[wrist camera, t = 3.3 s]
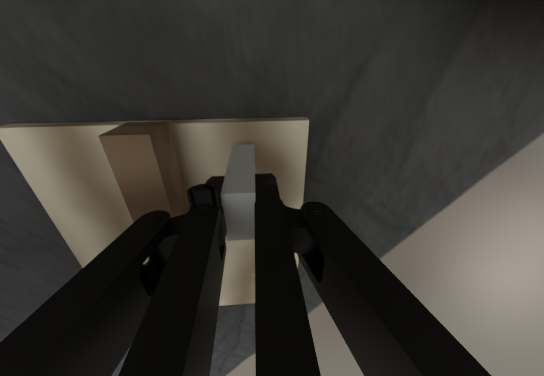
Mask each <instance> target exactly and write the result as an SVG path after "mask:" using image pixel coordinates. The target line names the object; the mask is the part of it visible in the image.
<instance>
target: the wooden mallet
mask: <svg viewBox="0 0 544 376" xmlns="http://www.w3.org/2000/svg"><path fill="white" fill-rule="evenodd" d="M98 137H99V139H100V142H101V144H102V147H103V149H104V152H105V154H106V156H107V159H108V161H109V164H110V166H111V169H112V171H113V174H114V176H115V178H116V181H117V183H118V186H119V188H120V191H121V193H122V196H123V198H124V200H125V203H126V205H127V208H128V210H129V213H130V215H131V218H132V220H133V222H135V221H136V220H137V219H138V218H140V217H141V216H142V215H144V214H146V213H149V212H151V211H156V210H164V211H167V212H169V213H170V215H171V217H175V216H179V215H183V214H186V213H188V211H189V207H188V203H187V198H186V194H185V190H184V186H183V182H182V178H181V173H180V169H179V165H178V161H177V157H176V153H175V148H174V144H173V140H172V136H171V132H170V127H169V123H168V121H162V122H126V123H124V124H122V125H120V126H118V127H116V128H114V129H112V130H109V131H107V132H105V133H103V134H101V135H99V136H98ZM148 259H149V258H148Z"/></svg>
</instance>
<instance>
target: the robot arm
mask: <svg viewBox="0 0 544 376" xmlns="http://www.w3.org/2000/svg"><path fill="white" fill-rule="evenodd" d="M186 193H187V198H188V202H189V206H190V208H189V211H188V213H186V214H183V215H179V216H175V217H171V215H170V213H169V212H167V211H164V210H156V211H151V212H149V213H146V214H144V215H142V216H141V217H140V218H138V219H137V220H136V221H135V222H134V223H133V224H132V225H130V226H129V227H128V228H127V229H126V230H125V231H124V232H123V233H122V234H120V235H119V236H118V237H117V238H116V239H115V240H114V241H113V242H112V243H110V244H109V245H108V246H107V247H106V248H105V249H104V250H103V251H102V252H100V253H99V254H98V255H97V256H96V257H95V258H94V259H93V260H92V261H90V262H89V263H88V264H87V265H86V266H85V267H84V268H83V269H82V270H80V271H79V272H78V273H77V274H76V275H75V276H74V277H73V278H72V279H70V280H69V281H68V282H67V283H66V284H65V285H64V286H63V287H62V288H60V289H59V290H58V291H57V292H56V293H55V294H54V295H53V296H52V297H50V298H49V299H48V300H47V301H46V302H45V303H44V304H43V305H42V306H40V307H39V308H38V309H37V310H36V311H35V312H34V313H33V314H32V315H30V316H29V317H28V318H27V319H26V320H25V321H24V322H23V323H21V324H20V325H19V326H18V327H17V328H16V329H15V330H14V331H13V332H11V333H10V334H9V335H8V336H7V337H6V338H5V339H4V340H3V341H1V342H0V376H111V375H112V374H113V372H114V370H115V369H116V367H117V366H118V364H119V363H120V361H121V360H122V358H123V356H124V355H125V353H126V352H127V350H128V349H129V347H130V345H131V344H132V345H131V347H130V350H129V352H128V354H127V357H126V359H125V361H124V364H123V366H122V368H121V371H120V373H119V376H209V375H210V368H211V361H212V353H213V346H214V338H215V331H216V323H217V316H218V308H219V301H220V294H221V286H222V279H223V271H224V264H225V256H226V242H225V240H226V235H227V241H236V240H253V239H255V337H256V376H321V375H320V370H319V366H318V361H317V357H316V352H315V347H314V343H313V338H312V334H311V329H310V324H309V320H308V315H307V310H306V306H305V301H304V296H303V292H302V287H301V282H300V278H299V273H298V268H297V264H296V259H295V255H294V253H297V255H298V258H299V259H300V261H301V263H302V265H303V267H304V268H305V270H306V272H307V274H308V276H309V277H310V279H311V281H312V283H313V285H314V286H315V288H316V290H317V292H318V294H319V295H320V297H321V299H322V301H323V303H324V304H325V306H326V308H327V310H328V312H329V313H330V315H331V317H332V319H333V320H334V322H335V324H336V326H337V327H338V329H339V331H340V333H341V335H342V337H343V338H344V340H345V342H346V344H347V346H348V347H349V349H350V351H351V353H352V354H353V356H354V358H355V360H356V362H357V364H358V365H359V367H360V369H361V371H362V372H363V374H364V376H491V375H490V374H489V373H488V372H487V371H486V370H485V369H484V368H483V367H482V366H481V365H480V364H479V363H478V361H477V360H476V359H475V358H474V357H473V356H472V355H471V354H470V353H469V352H468V351H467V350H466V349H465V348H464V347H463V346H462V345H461V344H460V343H459V342H458V341H457V340H456V339H455V338H454V336H453V335H451V333H450V332H449V331H448V330H447V329H446V328H445V327H444V326H443V325H442V324H441V323H440V322H439V321H438V320H437V319H436V318H435V317H434V316H433V315H432V314H431V313H430V312H429V311H428V309H426V307H425V306H424V305H423V304H422V303H421V302H420V301H419V300H418V299H417V298H416V297H415V296H414V295H413V294H412V293H411V292H410V291H409V290H408V289H407V288H406V287H405V286H404V285H403V284H402V283H401V281H400V280H399V279H398V278H397V277H396V276H395V275H394V274H393V273H392V272H391V271H390V270H389V269H388V268H387V267H386V266H385V265H384V264H383V263H382V262H381V261H380V260H379V259H378V258H377V257H376V256H375V254H374V253H373V252H372V251H371V250H370V249H369V248H368V247H367V246H366V245H365V244H364V243H363V242H362V241H361V240H360V239H359V238H358V237H357V236H356V235H355V234H354V233H353V232H352V231H351V230H350V229H349V227H348V226H347V225H346V224H345V223H344V222H343V221H342V220H341V219H340V218H339V217H338V216H337V215H336V214H335V213H334V212H333V211H332V210H331V209H330V208H329V207H328V206H327V205H325V204H323V203H320V202H307V203H304V204H303V205H302V206H301V208H300V209H295V208H290V207H288V206H286V205H284V204H283V201H282V200H281V199H280V195H279V190H278V185H277V180H276V177H275V176H274V175H273V174H272V173H265V174H255V154H254V144H245V145H232V149H231V153H230V157H229V161H228V165H227V169H226V173H225V176H212V177H210V178H209V179H208V180H207V181H206V184H198V185H195V186H192V187H191V188H189V189H188V190H187V191H186ZM147 258H149V260H148V262H147V263H146V264H143V263H144V262H145V260H146V259H147ZM132 342H133V343H132Z"/></svg>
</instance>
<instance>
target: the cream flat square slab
mask: <svg viewBox="0 0 544 376" xmlns="http://www.w3.org/2000/svg"><path fill="white" fill-rule="evenodd" d="M162 121H168V123H169V127H170V132H171V136H172V140H173V144H174V148H175V153H176V157H177V161H178V165H179V169H180V173H181V178H182V182H183V186H184V190H185V194H186V198H187V193H186V191H187V190H188V189H189V188H191V187H192V186H195V185H198V184H206V181H207V180H208V179H209V178H210V177H212V176H225V173H226V169H227V165H228V161H229V157H230V153H231V149H232V145H245V144H254V154H255V174H265V173H272V174H273V175H274V176H275V177H276V180H277V185H278V190H279V195H280V199H281V200H282V201H283V204H284V205H286V206H288V207H290V208H295V209H300V208H301V206H302V205H303V195H304V182H305V169H306V156H307V143H308V130H309V120H308V118H307V117H277V118H236V119H194V120H152V121H110V122H69V123H27V124H8V125H4V126H0V140H1V141H2V143H3V144H4V146H5V148H6V149H7V151H8V152H9V154H10V155H11V157H12V158H13V160H14V162H15V163H16V165H17V166H18V168H19V169H20V171H21V173H22V174H23V176H24V177H25V179H26V180H27V182H28V183H29V185H30V187H31V188H32V190H33V191H34V193H35V194H36V196H37V198H38V199H39V201H40V202H41V204H42V205H43V207H44V208H45V210H46V212H47V213H48V215H49V216H50V218H51V219H52V221H53V223H54V224H55V226H56V227H57V229H58V230H59V232H60V233H61V235H62V237H63V238H64V240H65V241H66V243H67V244H68V246H69V248H70V249H71V251H72V252H73V254H74V255H75V257H76V258H77V260H78V262H79V263H80V265H81V266H82V268H84V267H85V266H86V265H87V264H88V263H89V262H90V261H92V260H93V259H94V258H95V257H96V256H97V255H98V254H99V253H100V252H102V251H103V250H104V249H105V248H106V247H107V246H108V245H109V244H110V243H112V242H113V241H114V240H115V239H116V238H117V237H118V236H119V235H120V234H122V233H123V232H124V231H125V230H126V229H127V228H128V227H129V226H130V225H132V224H133V223H134V222H133V220H132V218H131V215H130V213H129V210H128V208H127V205H126V203H125V200H124V198H123V196H122V193H121V191H120V188H119V186H118V183H117V181H116V178H115V176H114V174H113V171H112V169H111V166H110V164H109V161H108V159H107V156H106V154H105V152H104V149H103V147H102V144H101V142H100V139H99V137H98V136H99V135H101V134H103V133H105V132H107V131H109V130H112V129H114V128H116V127H118V126H120V125H122V124H124V123H126V122H162ZM187 203H188V207H189V208H190V206H189V202H188V198H187ZM225 242H226V256H225V264H224V271H223V279H222V286H221V294H220V301H219V306H223V305H236V304H248V303H255V239H253V240H236V241H227V235H226V240H225ZM294 255H295V259H296V264H297V268H298V261H299V258H298V255H297V253H294ZM148 260H149V259H148V258H147V259H146V260H145V262H144V263H143V264H146V263H147V262H148Z"/></svg>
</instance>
